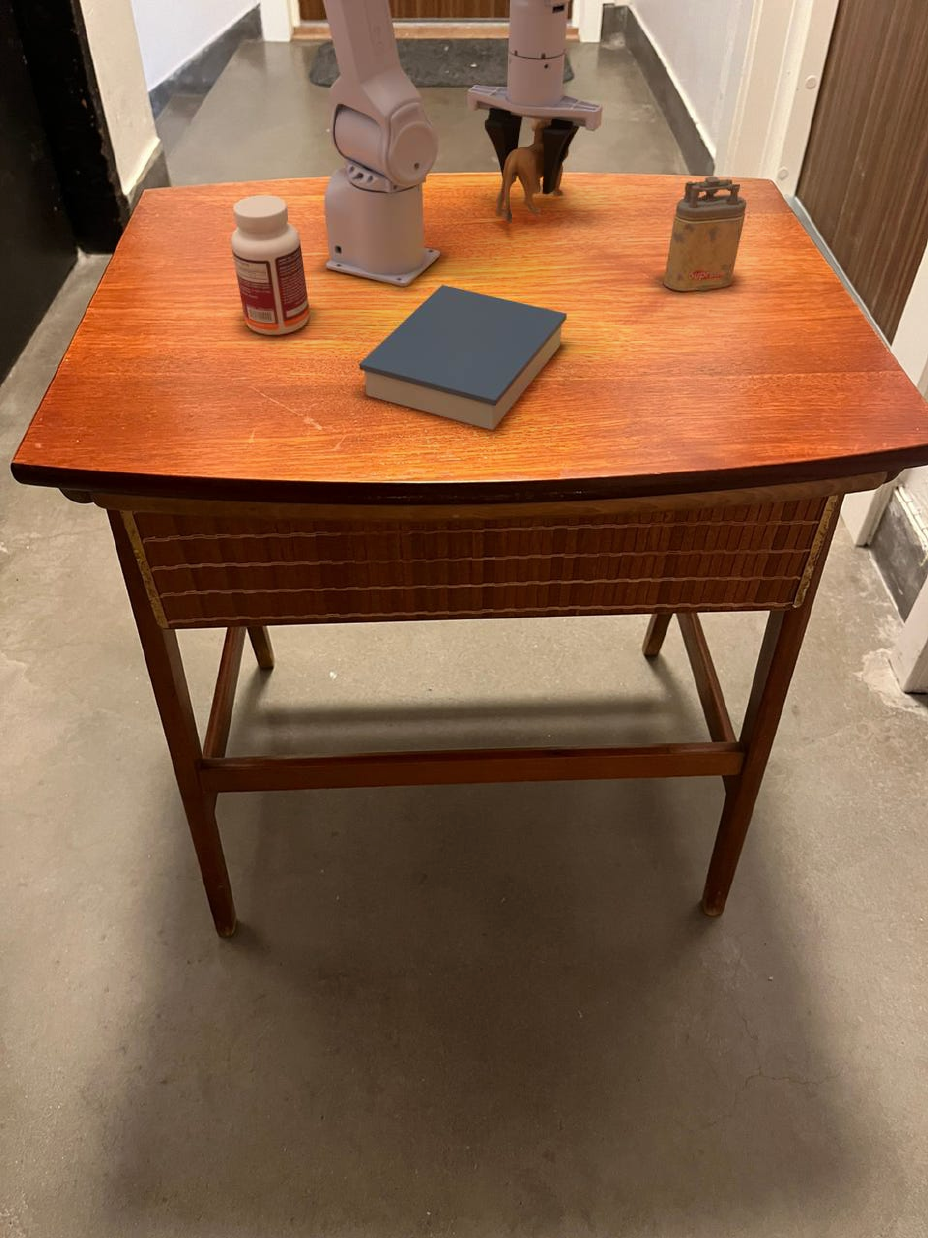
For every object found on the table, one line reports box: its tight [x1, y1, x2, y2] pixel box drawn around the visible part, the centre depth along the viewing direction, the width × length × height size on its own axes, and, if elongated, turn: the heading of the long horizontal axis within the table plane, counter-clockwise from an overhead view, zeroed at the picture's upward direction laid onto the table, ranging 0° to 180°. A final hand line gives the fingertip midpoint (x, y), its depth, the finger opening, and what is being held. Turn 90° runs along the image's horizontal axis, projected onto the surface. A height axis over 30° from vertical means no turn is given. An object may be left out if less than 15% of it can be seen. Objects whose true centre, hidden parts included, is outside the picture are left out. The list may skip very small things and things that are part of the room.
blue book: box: [358, 284, 568, 431], centre depth 86 cm, size 13×16×3 cm
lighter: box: [662, 176, 747, 292], centre depth 96 cm, size 7×4×10 cm, turn 102°
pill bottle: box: [230, 194, 311, 336], centre depth 90 cm, size 6×6×11 cm
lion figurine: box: [494, 118, 570, 224], centre depth 107 cm, size 15×5×9 cm, turn 158°
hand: (529, 187), depth 109 cm, fingers closed on lion figurine, 4 cm apart
